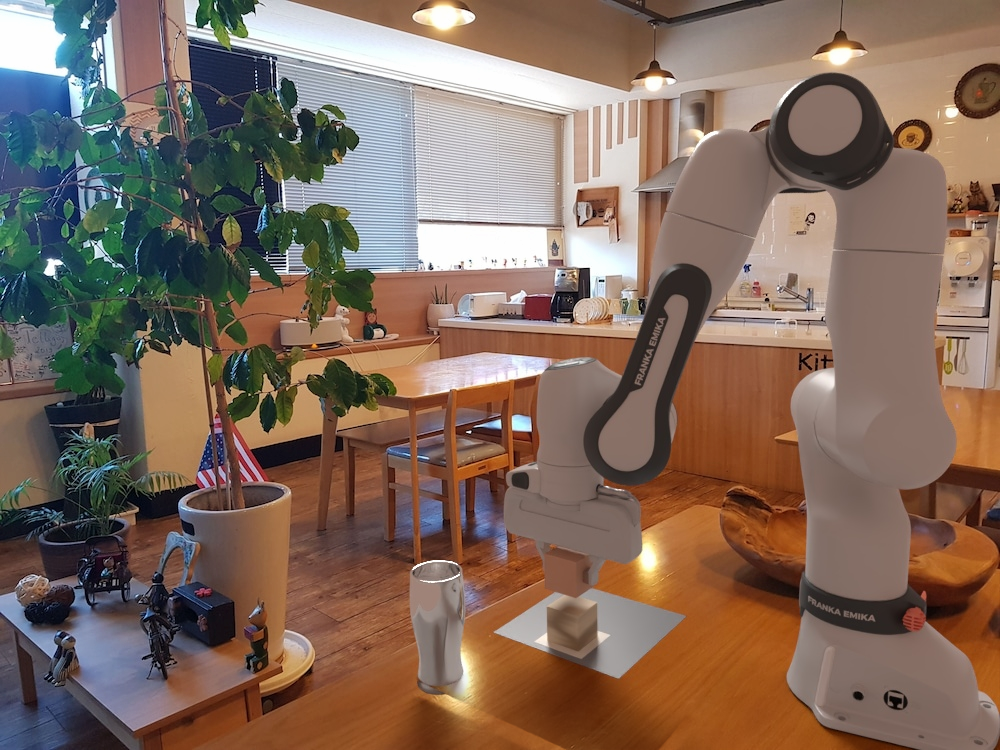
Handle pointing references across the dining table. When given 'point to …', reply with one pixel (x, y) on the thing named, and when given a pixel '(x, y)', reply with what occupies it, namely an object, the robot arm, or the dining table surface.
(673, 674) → the dining table surface
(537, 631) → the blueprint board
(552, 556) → the terracotta block
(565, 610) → the maple block
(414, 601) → the beer glass
